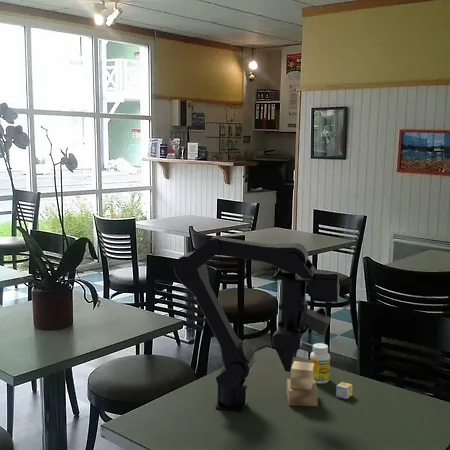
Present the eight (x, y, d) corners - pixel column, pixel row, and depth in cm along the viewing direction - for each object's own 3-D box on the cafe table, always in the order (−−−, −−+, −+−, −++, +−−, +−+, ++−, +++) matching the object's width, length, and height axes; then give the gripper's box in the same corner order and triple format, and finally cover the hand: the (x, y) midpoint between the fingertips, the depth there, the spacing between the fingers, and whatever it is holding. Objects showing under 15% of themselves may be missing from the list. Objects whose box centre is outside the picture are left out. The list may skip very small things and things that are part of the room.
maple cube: (290, 387, 141) (291, 368, 140) (293, 379, 146) (294, 360, 145) (310, 390, 140) (311, 370, 139) (313, 382, 144) (314, 363, 144)
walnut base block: (288, 406, 140) (289, 390, 139) (286, 393, 147) (286, 378, 146) (317, 407, 140) (318, 391, 139) (313, 394, 147) (314, 379, 146)
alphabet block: (335, 396, 145) (336, 385, 145) (341, 392, 148) (341, 381, 147) (346, 400, 143) (347, 388, 143) (352, 395, 146) (352, 384, 145)
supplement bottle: (319, 374, 159) (321, 340, 157) (333, 381, 154) (335, 346, 153) (304, 378, 156) (306, 344, 154) (318, 385, 151) (320, 350, 150)
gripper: (324, 313, 121) (321, 384, 123) (331, 291, 139) (329, 353, 141) (272, 309, 124) (270, 378, 126) (285, 288, 142) (284, 348, 144)
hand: (290, 363), depth 134 cm, fingers open, 9 cm apart
